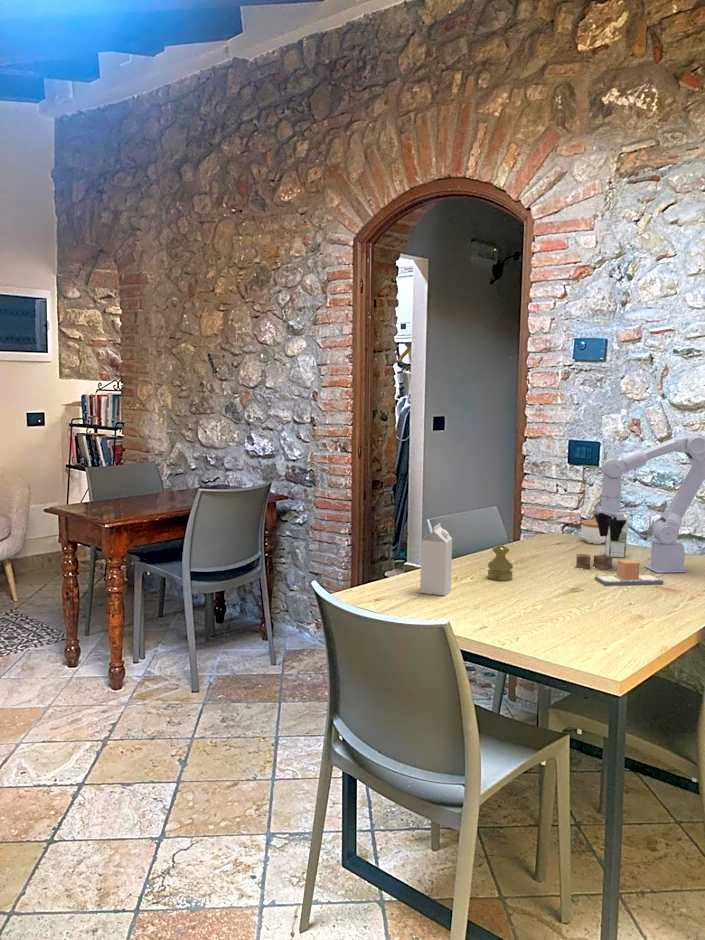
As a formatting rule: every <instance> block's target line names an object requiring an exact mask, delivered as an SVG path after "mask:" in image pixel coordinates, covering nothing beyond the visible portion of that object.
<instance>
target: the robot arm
mask: <svg viewBox="0 0 705 940" xmlns="http://www.w3.org/2000/svg"><path fill="white" fill-rule="evenodd" d="M672 452H676V453H682V454H683V453H684V454H685V455H686V457H687V458H688V462H689V463H690V465H691V467H690V468H689V471H688V472H687V474H686V475H685V477H684V479H683V480H682V482H681V484H680V486H679V488H678V490H677V491H676V493H675V495H674V496H673V498H672V501H671V502H670V504H669V506H668V508H667V509H666V510H665V511H664V512H663V513H661V515H660V517H659V518H658V519H656V520H655V521H654V522H653V523H652V525H651V528H650V530H651V533H652V534H653V538H652V539H651V552H650V565H644V568H647V569H649V570H650V571H653V572H655V573H658V574H661V573H665V574H666V573H668V574H669V573H685V572H686V570H685V561H686V560H685V559H686V558H685V557H686V552H685V551H686V549H685V546H684V544H683V543H682V542H679V541H677V540H678V538H679V534H680V533H679V531H680V529H681V527H682V520H683V517H684V516H685V515H686V514H685V513H686V512H687V511H688V509H689V506H690V505H691V503H692V501H693V500H694V498H695V496H696V495H697V494H698V491H699V490H700V487H702V484H703V483H704V481H705V437H704V436H702V435H698V434H696V433H687V434H684V435H680V436H676V437H674V438H671V439H668V440H665V441H663V442H661V443H659V444H656V445H654V446H652V447H649V448H647V449H644V450H642V449H641V448H636V449H635V448H631V449H630V448H629V451H628V452H625V453H623V454H620V455H619V454H616V455H615V456H614V457H615V458H611V457H610V458H607V459H605V460H604V461H603V463H602V465H601V467H600V468H601V472H602V473H603V474H602V481H601V503H600V506H597V507H596V510H597V511H596V512H597V513H595V514H593V515H594V519H595V518H596V521H597V524H598V528H599V533H600V536H607V535H608V529H609V528H610V538H611V541H618V540H619V536H620V533H621V530H622V528H623V526H624V525H625V524H626V520H624V514H625V513H623V512H622V510H621V494H622V493H621V492H622V475H623V474H624V473H625V474H626V473H629V472H631V471H634V470H636V469H639V468H642V467H644V466H646V465H647V463H648V461H650V460H652V459H655V458H658V457H660V456H664V455H666V454H667V455H668V454H670V453H672ZM612 517H613V519H611V518H612Z"/></svg>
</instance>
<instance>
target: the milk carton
mask: <svg viewBox="0 0 705 940" xmlns="http://www.w3.org/2000/svg"><path fill="white" fill-rule="evenodd" d="M441 525H442V524H441V522H439V523H438V524H436V525H435V526H433V531H432V532H431V533H429V534H428V535H427V536H425V537H424V538H422V540H421V543H420V581H419V582H420V585H419V588H420V589H419V592H420V594H428V595H434V596H436V595H437V596H446V595H447V594H448V593H449V592H450V591H451V589H452V561H453V560H452V558H453V557H452V555H453V537H452V536H451V535H450V534H449V532H448V531H447V530H446V529H444V528H443V527H442V526H441Z"/></svg>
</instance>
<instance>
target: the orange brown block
mask: <svg viewBox="0 0 705 940" xmlns="http://www.w3.org/2000/svg"><path fill="white" fill-rule="evenodd" d="M616 574H617V575H616V576H618V577H619V578H621V579H623V580H639V575H640V562H638V561H637V560H634V559H618V560H617V573H616Z"/></svg>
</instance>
